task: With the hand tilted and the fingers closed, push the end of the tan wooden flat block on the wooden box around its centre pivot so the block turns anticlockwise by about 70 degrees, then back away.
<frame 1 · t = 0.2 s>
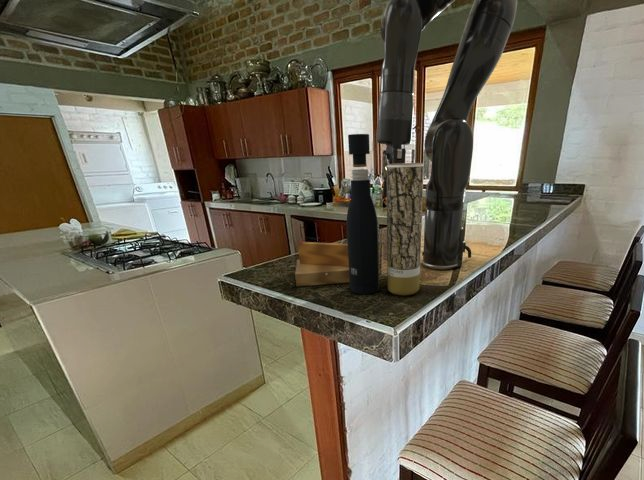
hand: (390, 198, 79), 17 cm above the countertop, tool pointing down, fingers open, 8 cm apart
tan wooden flat block: (324, 253, 80), point 6 cm above the countertop, hinge at -25.0°
paper tube: (403, 291, 72), on the countertop
black water bottle: (364, 289, 74), on the countertop
wooden box: (326, 275, 82), on the countertop
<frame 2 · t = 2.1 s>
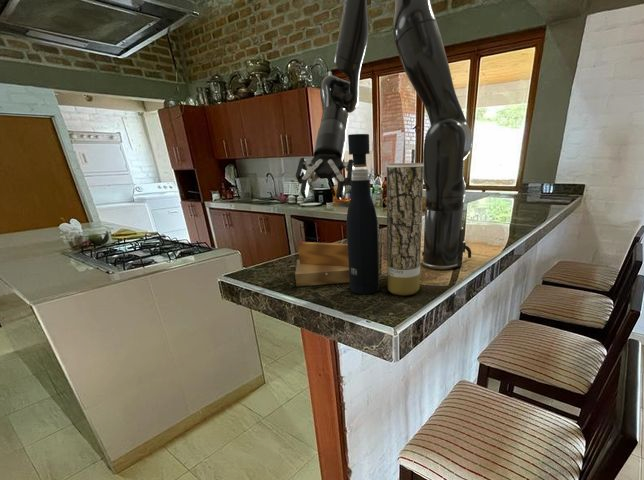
hand: (321, 196, 82), 18 cm above the countertop, tool tilted 40°, fingers open, 8 cm apart
nothing on the countertop moved.
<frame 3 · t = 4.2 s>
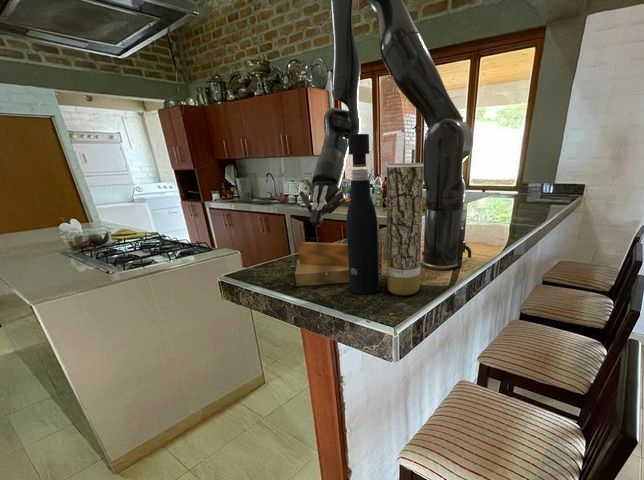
hand: (314, 225, 85), 11 cm above the countertop, tool tilted 45°, fingers closed
nothing on the countertop moved.
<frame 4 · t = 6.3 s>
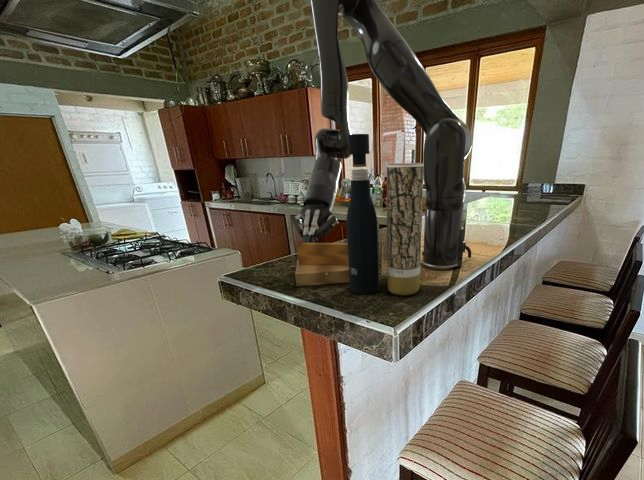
hand: (306, 250, 82), 6 cm above the countertop, tool tilted 45°, fingers closed
tan wooden flat block: (324, 253, 80), point 6 cm above the countertop, hinge at -17.6°, touching gripper
everything else where it was.
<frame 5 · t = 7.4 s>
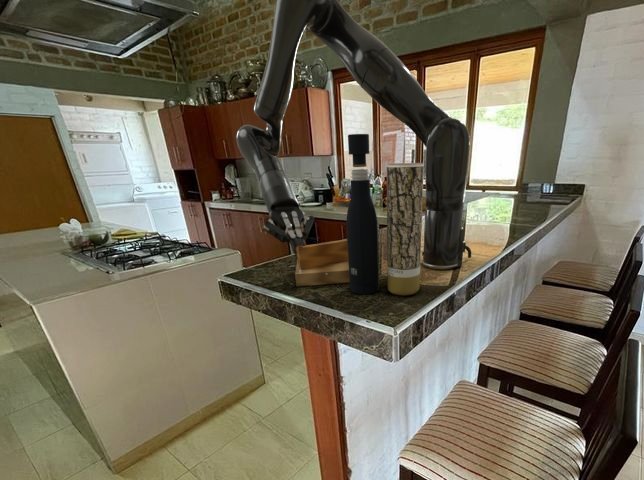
hand: (301, 254, 78), 6 cm above the countertop, tool tilted 45°, fingers closed
tan wooden flat block: (324, 253, 80), point 6 cm above the countertop, hinge at 21.8°, touching gripper
everything else where it was.
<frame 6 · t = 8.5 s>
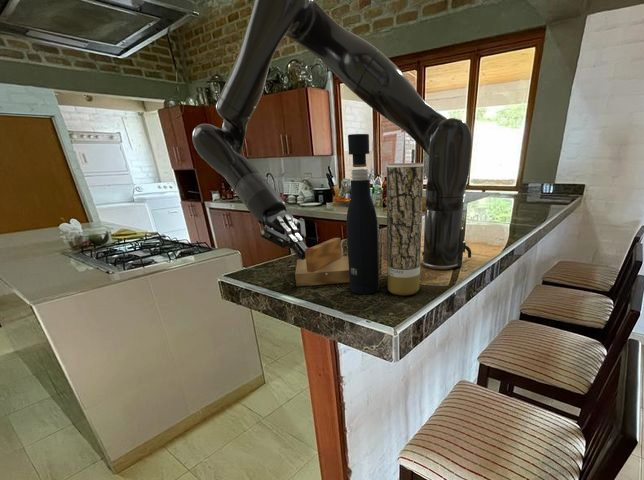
hand: (306, 257, 76), 6 cm above the countertop, tool tilted 45°, fingers closed
tan wooden flat block: (324, 253, 80), point 6 cm above the countertop, hinge at 55.8°
everything else where it was.
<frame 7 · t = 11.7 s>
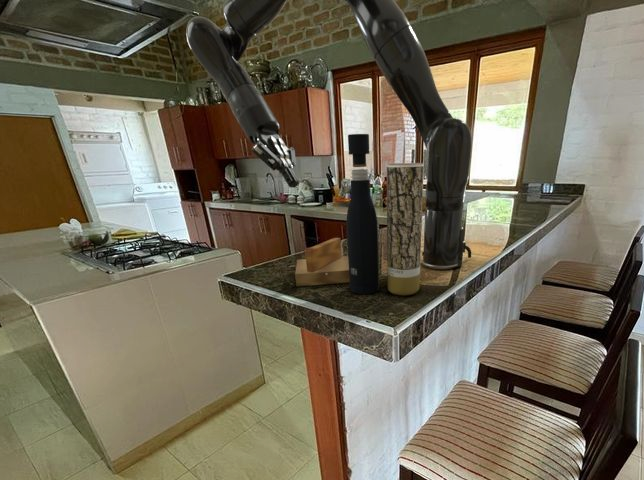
hand: (295, 185, 75), 21 cm above the countertop, tool tilted 35°, fingers closed
nothing on the countertop moved.
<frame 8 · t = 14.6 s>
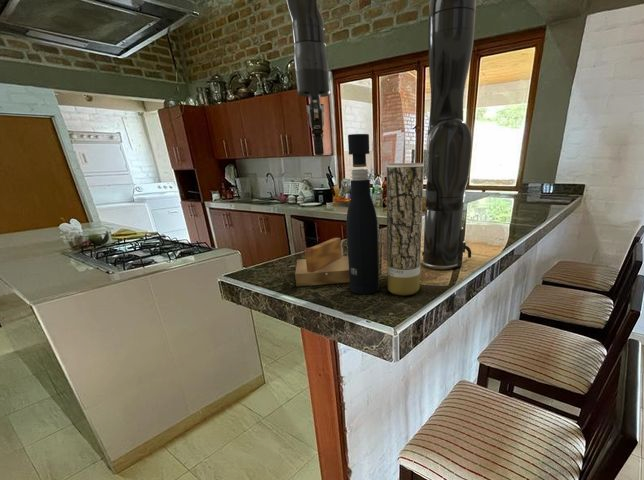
hand: (319, 155, 83), 27 cm above the countertop, tool pointing down, fingers closed
nothing on the countertop moved.
at the end: tan wooden flat block at +56° (first picture: -25°); black water bottle moved 0.2 cm from its start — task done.
